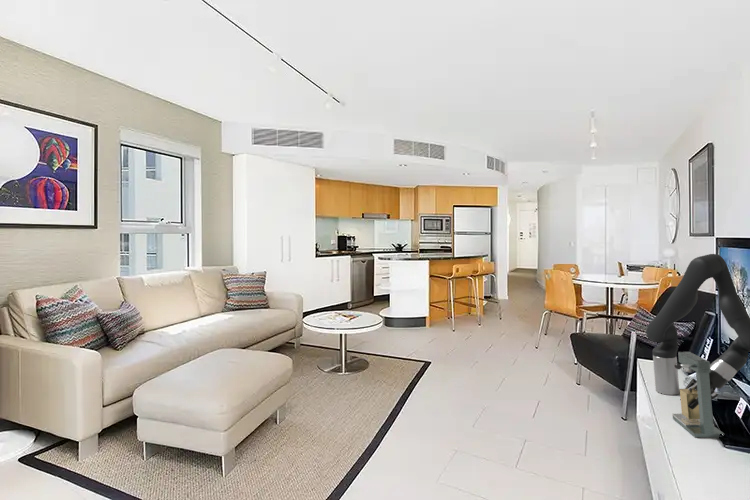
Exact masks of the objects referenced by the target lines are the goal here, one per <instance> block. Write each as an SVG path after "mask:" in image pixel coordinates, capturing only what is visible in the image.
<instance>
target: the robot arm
mask: <svg viewBox="0 0 750 500" xmlns="http://www.w3.org/2000/svg"><path fill="white" fill-rule="evenodd" d="M711 278H712V279H713V281H714V282H715V284H716V286H717V289H718V299H719V300H718V302H719V308H720V311H721V314H722V315H723V317H724V319H725V320H726V322H727V325H729V327H730V328H731V329H732V330H734V332H735V334H736V335H737V336H736V338H735V339H734V340H733V341H732V343H731V344H730V345H729V346H728V348H727V349H726V351H724V352H723V353H722V354H721V355H719V357H717V358H716V359H715V360H714V361H712V362H710V372H711V373H709V378H710V391H711V401H712V400H713V399H716V397H718V396H719V394H718V393H717V392H716V389H717V390H721V389H722V388H723V387H724V386H726V385H727V384H728V382H730V381H731V380H732V379H733V378H734V376H735V375H736V374H737V373H738V372H739V371H740V370H741V369H742V368H743V367H744V366H745V365H746V363H747V361H748V359H749V357H748V352H750V316H749V314H748V312H747V310H746V308H745V307H744V305H743V303H742V301H741V299H740V297H739V295H738V292H737V290H736V287H735V283H734V279H733V278H732V275H731V273H730V270H729V267H728V265H727V262H726V260H725V259H724V258H723V256H720V255H719V254H717V253H710V254H705V255H702V256H700V255H699V256H697V257H695V258H693V259H692V260H691V261H690V262H689V264H688V266H687V267H686V269H685V272H684V274H683V275H682V278H681V280H680V281H679V283H678V284H677V285H676V287H675V289H673V291H672V293H671V294H670V295H669V297H668V298H667V300H666V302H665V304H664V305H663V306H662V308H661V309H660V311H659V312H658V313H657V314H656V315H655V317H653V319H652V320H651V321H650V322H649V323H648V324H647V327H646V331H645V335H646V337H647V339H649V341H651V342H653V343H659V344H658V345H657V346H655V347H654V348H653V349H652V361H653V371H654V373H653V374H654V386H655V392H657V393H658V392H659V394H661V393H662V394H663V395H668V396H676V395H680V384H679V383H680V382H679V369H676V368H675V367H674V365H675V364H676V363H678V359H677V358H678V357H677V353H678V351H679V347H678V346H679V345H678V341H679V340H678V330H677V328H676V326H675V324H674V323H676V322H678V321H679V320H681V319H682V318H685V316H687V315H688V314H689V313H691V312H692V310H693V308H694V307H695V306H696V305H697V302H698V301H699V296H698V295H699V294H698V291H699V289H700V288H701V286H702V285H703V284H704V283H705V281H706V280H707V281H708V280H709V279H711ZM688 388H692V389H695V390H697V379H696V378H692V379H691V380H690V381H689V382H688V384H687V385H686V387H685V388H684V389H688ZM697 393H698V391H697ZM662 394H661V395H662ZM680 401H681V398H680ZM698 404H699V403H698V395H697V396H696V397H695V399H693V400H692V401H691V402H690V403H689V404H688V407H690V408H691V409H694V408H695V407H696V406H697V405H698Z"/></svg>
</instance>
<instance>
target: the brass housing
mask: <svg viewBox="0 0 750 500" xmlns="http://www.w3.org/2000/svg"><path fill="white" fill-rule="evenodd" d="M697 395H698V393H697V390H695V389H692V388H688V389H685V388H679V396H680V399H681V400H680V405H681V414H683V415H684V416H685V417H687V418H688V419H700V415H699V404H698V405H697V406H696V407H695V408H694V409H691V408H690V407H688V404H689V403H690V402H691V401H692V400H693V399H695V397H696V396H697Z"/></svg>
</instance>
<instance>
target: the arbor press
mask: <svg viewBox="0 0 750 500" xmlns="http://www.w3.org/2000/svg"><path fill="white" fill-rule="evenodd" d="M677 353H678V354H677V355H678V357H677V358H678V362H677V363H676V364H675V365H674V367H675V368H676V369H678V370H681V369H683V372H685V373H688V374H689V373H690V374H691V373H694V372H695V374H696V375H695V376H696V377H695V380H697V391H698V403H699V415H700V419H688V418H687V417H685V416H684V415H683V414H682V413H672V419H673V420H674V421H675V423H677V424H678V425H679V426H680V427H681V428H683V429H684V430H685V431H686V432H688V433H689V435H691V436H693V437H694V438H695V439H696V438H697V439H698V438H704V439H705V438H708V439H713V438H714V439H715V438H716V439H720V438H719V435H720V434H724V435H725V433H724V432H723V431H721V430H720V429H719V428H718V427H716V426H715V424H714V417H713V406H712V400H711V391H710V378H709V373H711V372H710V364H711V362H710V361H709V360H707V359H705V358H703V357H700V356H699V355H697V354H696V353H695V354H694V353H693V352H691V351H677Z"/></svg>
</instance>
